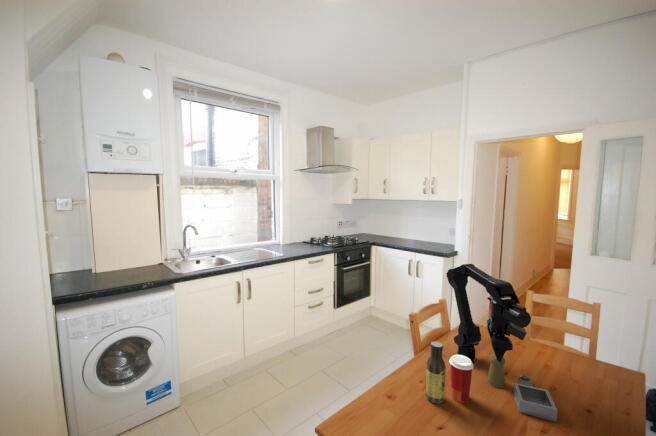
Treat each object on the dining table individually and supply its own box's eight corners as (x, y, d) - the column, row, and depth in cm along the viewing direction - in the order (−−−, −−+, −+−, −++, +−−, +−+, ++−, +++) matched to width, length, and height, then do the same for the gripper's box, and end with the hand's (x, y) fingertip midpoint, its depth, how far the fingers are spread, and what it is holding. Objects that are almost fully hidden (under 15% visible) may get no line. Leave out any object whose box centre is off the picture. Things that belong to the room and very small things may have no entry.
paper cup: (470, 392, 104) (471, 355, 103) (473, 407, 97) (475, 368, 96) (447, 387, 107) (448, 352, 105) (448, 402, 99) (449, 363, 98)
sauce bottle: (445, 406, 97) (447, 350, 96) (425, 402, 99) (427, 347, 97) (443, 394, 103) (445, 341, 102) (425, 390, 105) (427, 338, 103)
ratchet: (519, 415, 95) (520, 401, 94) (508, 380, 112) (509, 368, 112) (556, 424, 91) (557, 410, 90) (539, 387, 108) (540, 375, 108)
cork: (500, 378, 112) (501, 351, 111) (508, 388, 106) (510, 360, 105) (484, 377, 113) (485, 350, 112) (491, 387, 107) (492, 359, 106)
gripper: (531, 330, 95) (528, 374, 97) (519, 309, 112) (517, 347, 114) (493, 324, 100) (491, 366, 101) (487, 304, 117) (485, 341, 118)
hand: (497, 354), depth 109 cm, fingers open, 9 cm apart
